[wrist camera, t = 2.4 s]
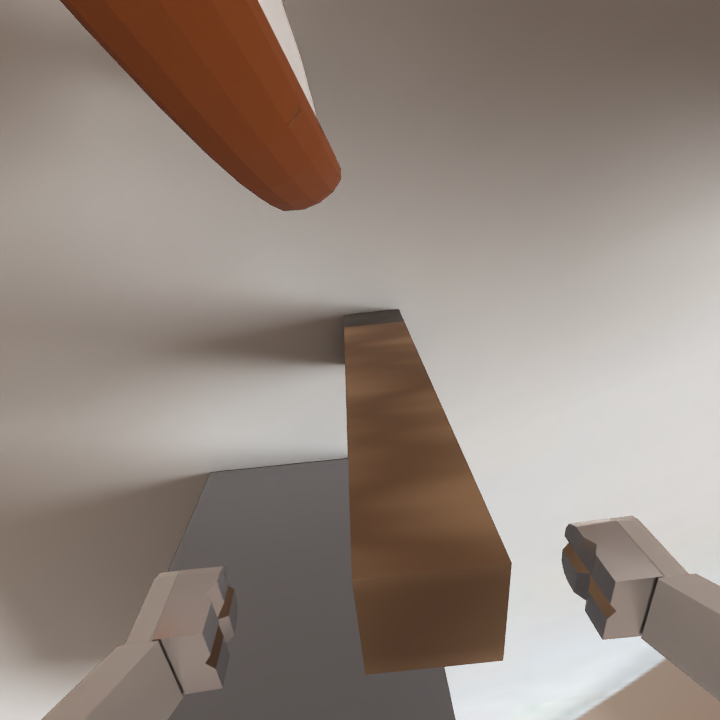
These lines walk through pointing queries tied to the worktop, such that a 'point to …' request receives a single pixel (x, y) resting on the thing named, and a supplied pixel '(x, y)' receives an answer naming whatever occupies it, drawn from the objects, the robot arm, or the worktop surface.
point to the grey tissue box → (294, 603)
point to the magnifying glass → (225, 87)
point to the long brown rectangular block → (415, 514)
